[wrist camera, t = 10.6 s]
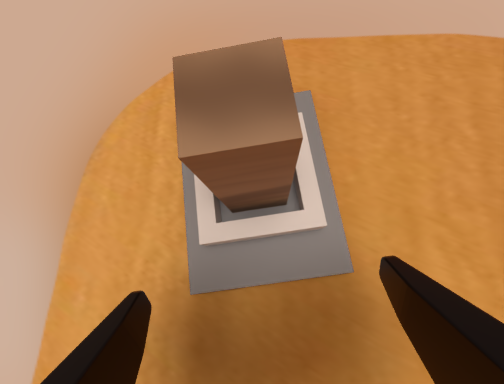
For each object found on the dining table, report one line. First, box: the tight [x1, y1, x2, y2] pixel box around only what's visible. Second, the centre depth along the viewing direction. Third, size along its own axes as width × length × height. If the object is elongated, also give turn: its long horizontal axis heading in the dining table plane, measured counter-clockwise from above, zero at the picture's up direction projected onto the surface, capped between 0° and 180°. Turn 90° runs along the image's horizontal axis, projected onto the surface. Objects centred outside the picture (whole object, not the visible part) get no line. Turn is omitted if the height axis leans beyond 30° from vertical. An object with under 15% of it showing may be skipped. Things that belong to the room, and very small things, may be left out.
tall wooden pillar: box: [173, 37, 303, 213], centre depth 16 cm, size 5×5×13 cm
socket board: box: [182, 90, 354, 295], centre depth 22 cm, size 18×14×4 cm
